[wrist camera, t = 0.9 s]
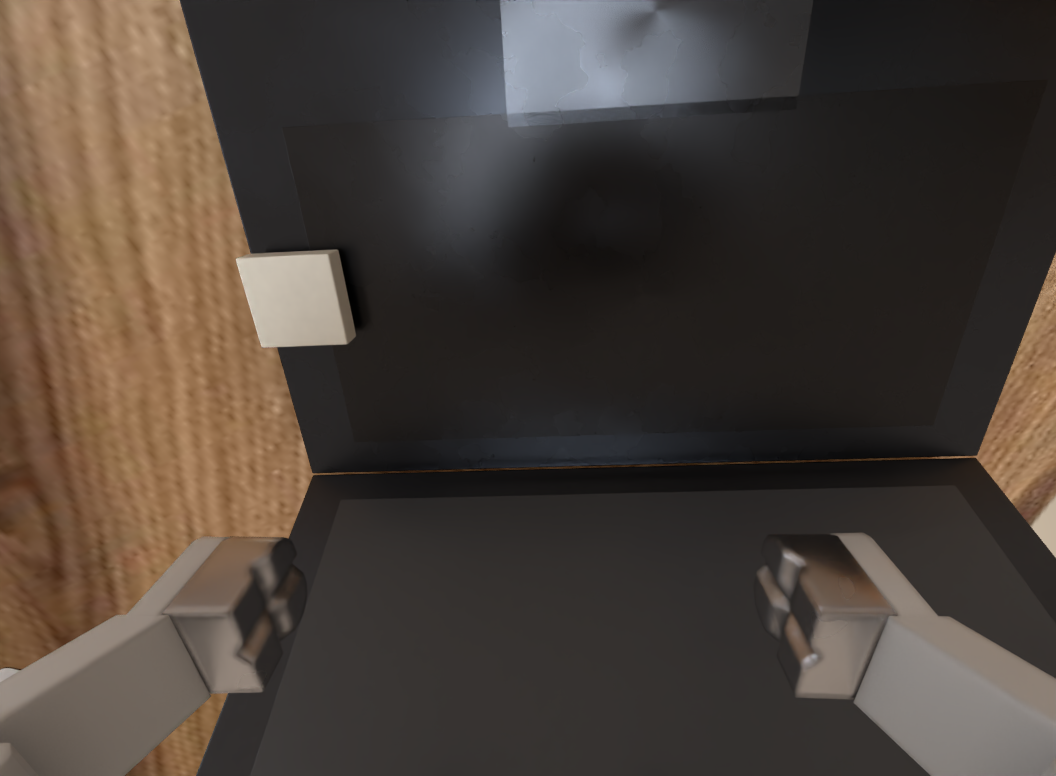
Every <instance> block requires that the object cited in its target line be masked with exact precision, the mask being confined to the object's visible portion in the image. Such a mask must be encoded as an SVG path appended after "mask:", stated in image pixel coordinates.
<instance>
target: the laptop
mask: <svg viewBox="0 0 1056 776" xmlns="http://www.w3.org/2000/svg"><path fill="white" fill-rule="evenodd" d="M180 3H181V7H182V10H183V14H184V17H185V21H186V24H187V28H188V32H189V35H190V39H191V42H192V46H193V49H194V53H195V56H196V60H197V64H198V67H199V71H200V74H201V78H202V81H203V85H204V88H205V92H206V96H207V99H208V103H209V106H210V110H211V113H212V117H213V121H214V124H215V128H216V131H217V135H218V138H219V142H220V145H221V149H222V153H223V156H224V160H225V163H226V167H227V170H228V174H229V177H230V181H231V185H232V188H233V192H234V195H235V199H236V202H237V206H238V209H239V213H240V217H241V220H242V224H243V227H244V231H245V234H246V238H247V241H248V245H249V249H250V252H251V254H255V253H275V252H296V251H316V250H336V249H337V250H338V251H339V255H340V260H341V265H342V270H343V275H344V279H345V284H346V289H347V294H348V299H349V304H350V308H351V313H352V318H353V323H354V328H355V332H356V337H355V338H354V339H353V340H352V341H351V342H349V343H348V344H345V345H320V346H294V347H277V348H278V352H279V355H280V359H281V362H282V366H283V370H284V373H285V377H286V380H287V384H288V387H289V391H290V394H291V398H292V402H293V405H294V409H295V412H296V416H297V419H298V423H299V426H300V430H301V434H302V437H303V441H304V444H305V448H306V451H307V455H308V458H309V462H310V466H311V469H312V473H337V472H375V471H413V470H451V469H488V468H526V467H564V466H602V465H639V464H677V463H715V462H752V461H790V460H828V459H866V458H903V457H941V456H976V455H977V454H978V451H979V449H980V446H981V444H982V441H983V438H984V436H985V433H986V431H987V428H988V425H989V423H990V420H991V418H992V415H993V413H994V410H995V407H996V405H997V402H998V400H999V397H1000V395H1001V392H1002V389H1003V387H1004V384H1005V382H1006V379H1007V376H1008V374H1009V371H1010V369H1011V366H1012V364H1013V361H1014V358H1015V356H1016V353H1017V351H1018V348H1019V346H1020V343H1021V340H1022V338H1023V335H1024V333H1025V330H1026V327H1027V325H1028V322H1029V320H1030V317H1031V315H1032V312H1033V309H1034V307H1035V304H1036V302H1037V299H1038V296H1039V294H1040V291H1041V289H1042V286H1043V284H1044V281H1045V278H1046V276H1047V273H1048V271H1049V268H1050V266H1051V263H1052V260H1053V258H1054V255H1055V253H1056V0H180Z"/></svg>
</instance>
